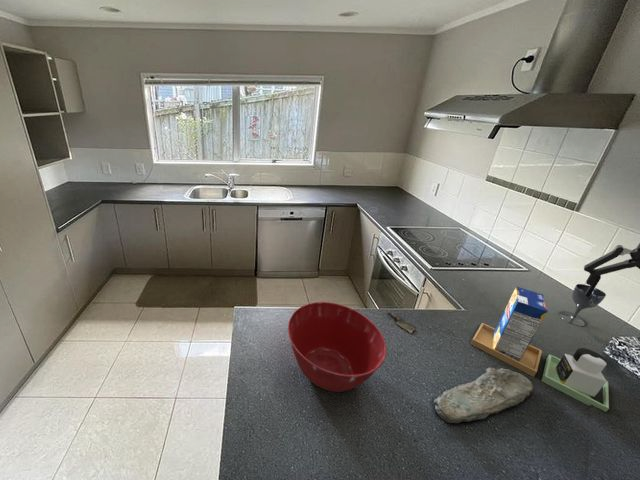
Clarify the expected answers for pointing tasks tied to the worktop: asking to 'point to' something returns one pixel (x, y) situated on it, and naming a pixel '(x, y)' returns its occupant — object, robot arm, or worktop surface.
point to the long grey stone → (483, 396)
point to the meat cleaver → (401, 323)
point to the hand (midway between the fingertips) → (622, 306)
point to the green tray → (554, 381)
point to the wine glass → (583, 302)
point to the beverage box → (519, 323)
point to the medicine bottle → (582, 371)
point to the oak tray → (526, 364)
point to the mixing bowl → (335, 345)
